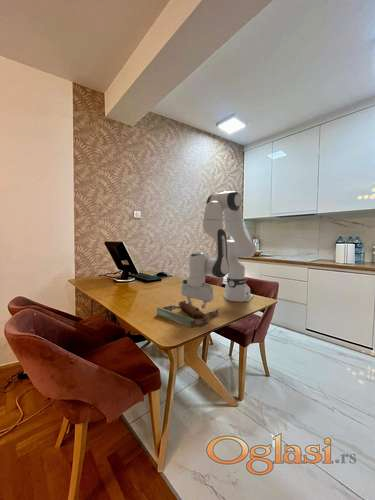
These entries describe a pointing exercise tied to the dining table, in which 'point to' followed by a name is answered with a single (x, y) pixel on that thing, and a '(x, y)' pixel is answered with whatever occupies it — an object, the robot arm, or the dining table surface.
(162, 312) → the trap lane
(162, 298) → the dining table surface
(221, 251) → the robot arm
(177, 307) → the mats
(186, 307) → the brown oblong lump
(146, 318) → the dining table surface
